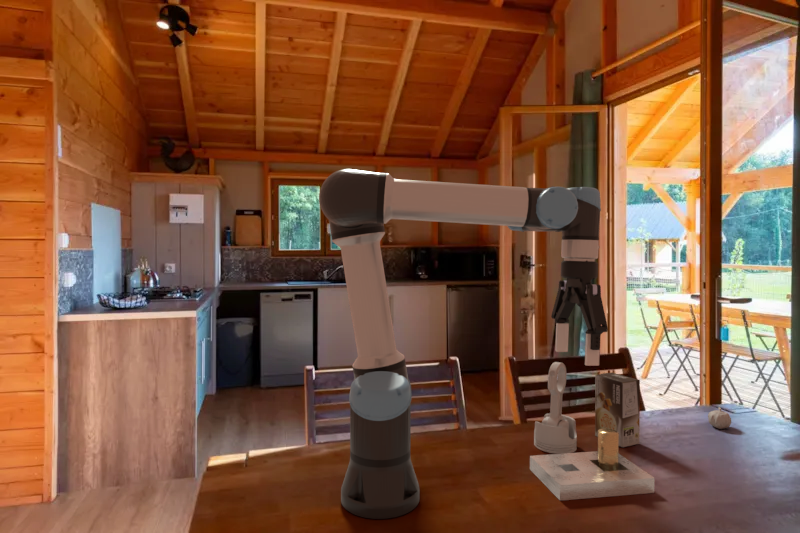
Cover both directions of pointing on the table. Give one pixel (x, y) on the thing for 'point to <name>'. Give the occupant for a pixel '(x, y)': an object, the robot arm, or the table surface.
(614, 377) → the coffee box
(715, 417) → the garlic
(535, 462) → the white peg hole board
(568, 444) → the engine component
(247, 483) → the table surface
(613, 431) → the cylinder
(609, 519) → the table surface
